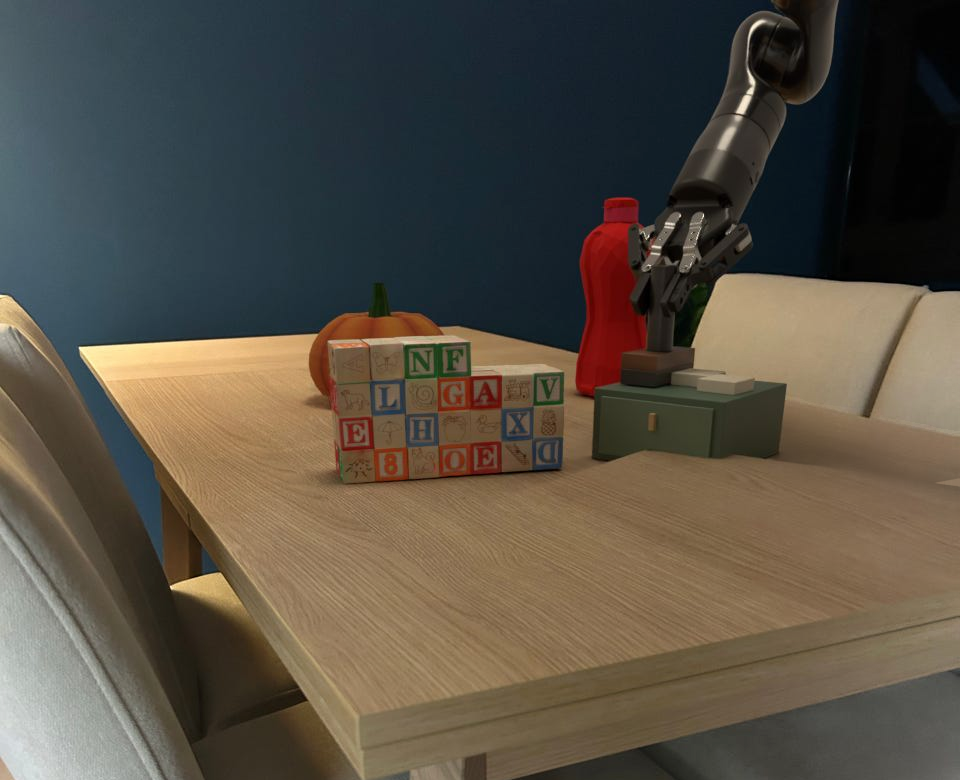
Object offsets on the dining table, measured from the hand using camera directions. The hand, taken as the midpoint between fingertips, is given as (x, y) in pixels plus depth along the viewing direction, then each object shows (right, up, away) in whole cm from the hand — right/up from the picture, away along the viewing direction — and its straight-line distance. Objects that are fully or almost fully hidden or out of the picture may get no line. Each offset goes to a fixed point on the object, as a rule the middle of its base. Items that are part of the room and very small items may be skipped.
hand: (651, 310), depth 95 cm
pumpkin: (-30, 0, +38) cm, 48 cm away
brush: (+1, -6, +4) cm, 7 cm away
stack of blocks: (-20, -16, -1) cm, 25 cm away
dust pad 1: (+5, -6, +3) cm, 9 cm away
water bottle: (+2, +2, +41) cm, 41 cm away
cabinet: (+4, -13, +5) cm, 15 cm away
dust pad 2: (+7, -8, -1) cm, 11 cm away
